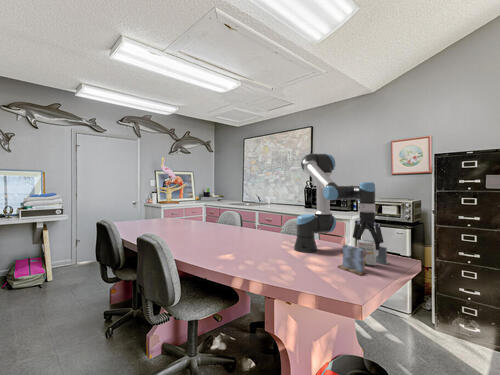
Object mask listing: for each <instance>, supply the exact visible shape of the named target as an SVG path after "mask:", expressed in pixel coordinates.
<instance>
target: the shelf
mask: <svg viewBox="0 0 500 375" xmlns="http://www.w3.org/2000/svg"><path fill="white" fill-rule="evenodd" d="M337 268H338V269H340V270H342V271H346V272H348V273H352V274H355V275H356V276H359V277H360V276H365V275H368V273H367V272H365V270H366V264H365V250H364V249H361V248H357V246H352V245H349V244H343V245H342V264H340V265H337Z"/></svg>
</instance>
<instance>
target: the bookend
mask: <svg viewBox="0 0 500 375" xmlns="http://www.w3.org/2000/svg"><path fill="white" fill-rule="evenodd" d="M376 264H380V265H384V266H387V265H390V264H391V263H390V262H388V261H387V247H384V246H381V245H380V249H379V250H378V256H376Z"/></svg>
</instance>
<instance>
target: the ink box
mask: <svg viewBox="0 0 500 375" xmlns="http://www.w3.org/2000/svg"><path fill="white" fill-rule="evenodd" d="M374 243H375V242H374V240H368V239H367V240H365V239H361V240H359V241H358V248H361V249H364V250H365V265H368V266H376V265H377V263H376V256H374Z"/></svg>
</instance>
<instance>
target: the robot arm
mask: <svg viewBox="0 0 500 375" xmlns="http://www.w3.org/2000/svg"><path fill="white" fill-rule="evenodd" d="M335 160H336V159H335V158H334V157H333V155H331V154H329V153H308V154H306V155H305V156H303V157H302V160H301V162H300V167H301V169H302V171H303V172H304V173H305V174H306V175H307V174H308V176H310V177H311V178H312V179H313V180H314V181H315V183H316V211H315V212H314V214H312V213H305V214H300V215H298V216H297V217H296V223H295V224H296V239H295V242H294V245H293V249H294V251H297V252H301V253H314V252H317V251H318V246H317V243H316V240H315V234H324V233H325V234H327V233H332V232H333V231H334V230H335V229H336V225H337V221H336V220H337V219H336V217H335V216H334V215H333V212H331V208H330V206H331V204H330V202H331V201H337V200H359V219H360V220H359V219H358V220H354V229H353V233H352V238H353V239H355V245H356V247H357V248H358V241H359V240H362V236H363V234H364V232H365V231H366V230H368V231H369V233H370V234H371V237H372V239H373V241H374V242H375V243H374V256H378V250H379V249H380V246H381V245H380V244H383V243H384V238H383V234H382V230H381V229H382V228H381V223H380V222H379V223H378V222H376V220H375V219H376V184H375V182H371V181H370V182H368V181H367V182H366V181H365V182H364V181H363V182H359V185H338V184H337V183H336V182H335V181H333V180H332V179H331V178H330V175H332V173H333V171H334V170H335V168H336V161H335Z"/></svg>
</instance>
